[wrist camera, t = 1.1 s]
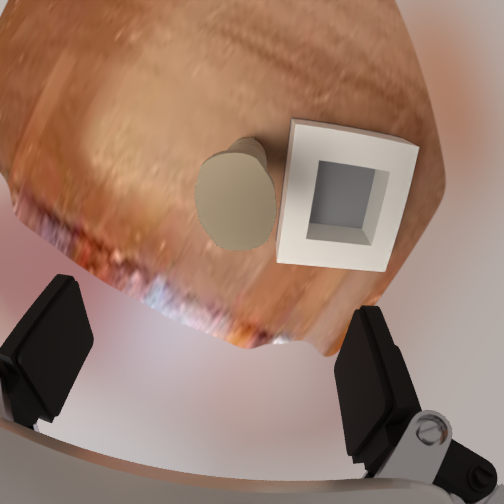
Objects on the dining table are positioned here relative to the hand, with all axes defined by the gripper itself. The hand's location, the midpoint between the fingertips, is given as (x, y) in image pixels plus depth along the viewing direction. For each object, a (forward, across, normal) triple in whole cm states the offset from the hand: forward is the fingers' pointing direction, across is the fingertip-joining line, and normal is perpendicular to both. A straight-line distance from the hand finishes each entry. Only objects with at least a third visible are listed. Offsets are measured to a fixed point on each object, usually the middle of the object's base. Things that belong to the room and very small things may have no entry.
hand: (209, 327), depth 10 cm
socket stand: (+26, -10, +3) cm, 28 cm away
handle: (+26, 0, 0) cm, 26 cm away
